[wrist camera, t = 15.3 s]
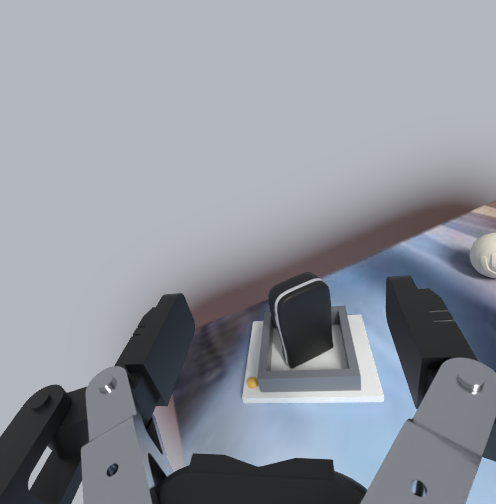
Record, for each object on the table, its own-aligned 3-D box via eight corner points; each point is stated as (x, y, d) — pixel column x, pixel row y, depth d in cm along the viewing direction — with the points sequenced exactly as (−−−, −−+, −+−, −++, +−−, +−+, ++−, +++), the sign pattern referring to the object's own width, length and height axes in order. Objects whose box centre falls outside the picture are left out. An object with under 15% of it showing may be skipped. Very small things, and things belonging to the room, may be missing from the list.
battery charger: (319, 330, 44) (311, 263, 38) (336, 348, 41) (330, 277, 35) (276, 352, 42) (261, 285, 36) (289, 372, 39) (276, 302, 33)
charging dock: (361, 319, 45) (360, 301, 44) (383, 401, 34) (384, 381, 33) (254, 326, 49) (250, 309, 47) (243, 403, 38) (237, 385, 36)
